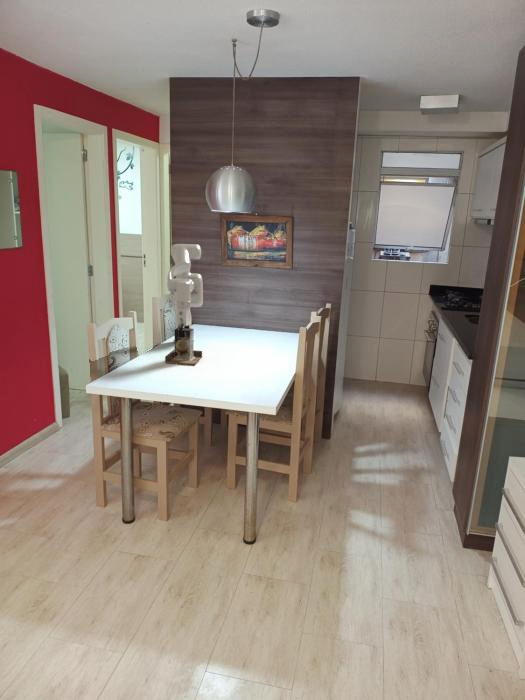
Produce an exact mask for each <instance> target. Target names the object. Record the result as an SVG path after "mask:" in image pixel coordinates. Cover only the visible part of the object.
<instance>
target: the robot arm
mask: <svg viewBox="0 0 525 700" xmlns="http://www.w3.org/2000/svg"><path fill="white" fill-rule="evenodd" d="M170 253H171V257H172V259H173V262H174V265H173V266H172V267H171V268H170V270H169V271H168V273H167V277H166V280H167V281H166V286H167V290H168V292H170V293H174V294H173V301H174V308H175V309H174V310H175V329H176V328H178V337H179V338H184V328H190V329H192V312H191V308H201V307H202V306H203V304H204V291H203V290H204V285H203V276H202V275H201V274H200V273H196V272H195V273H193V272H191V267H192V264H191V263H192V262H191V260H200V259H201V258H202V248H201V246H200V245H199V243H198V244H196V243H194V244H193V243H189V244H188V243H175V244H172V245H171V247H170ZM193 290H194V291H193ZM194 342H195V340H194V339H193V343H194ZM173 343H174V344H175V339H173Z"/></svg>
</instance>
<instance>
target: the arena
mask: <svg viewBox="0 0 525 700" xmlns="http://www.w3.org/2000/svg"><path fill="white" fill-rule="evenodd" d="M193 356H194V357H193V358H191V359H190V360H189V359H178V358H175V348H174V349H172V350H171V351H170V352H169V353H167V355H165V357H164V361H165V363H164V364H165V365H176V364H177V365H178V366H193V367H195V366H196V365H197V364H198V363H199V362H200V361H201V360H202V359H203V350H194V349H193ZM201 358H202V359H201ZM200 359H201V360H200ZM199 360H200V361H199Z"/></svg>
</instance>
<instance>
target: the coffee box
mask: <svg viewBox="0 0 525 700" xmlns="http://www.w3.org/2000/svg"><path fill="white" fill-rule="evenodd" d="M194 333H195V332H194V328H191V329H190V328H184V338H179V337H178V328H176V327H175V329H174V340H175V343H174V349H175V358H178V359H189V360H190V359H191V358H193V357H194V356H193V350H194V342H193V340H194Z"/></svg>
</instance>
